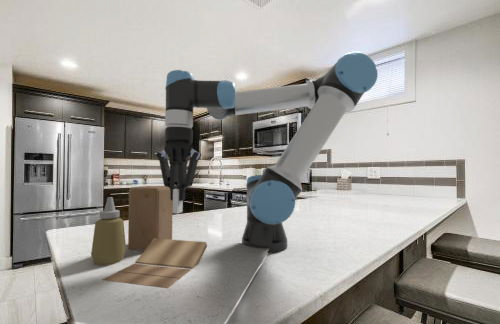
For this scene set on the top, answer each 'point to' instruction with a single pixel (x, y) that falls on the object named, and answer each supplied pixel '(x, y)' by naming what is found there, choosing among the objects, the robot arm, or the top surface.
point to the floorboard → (148, 275)
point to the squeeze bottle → (108, 236)
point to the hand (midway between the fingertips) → (177, 212)
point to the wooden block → (149, 215)
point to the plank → (173, 253)
